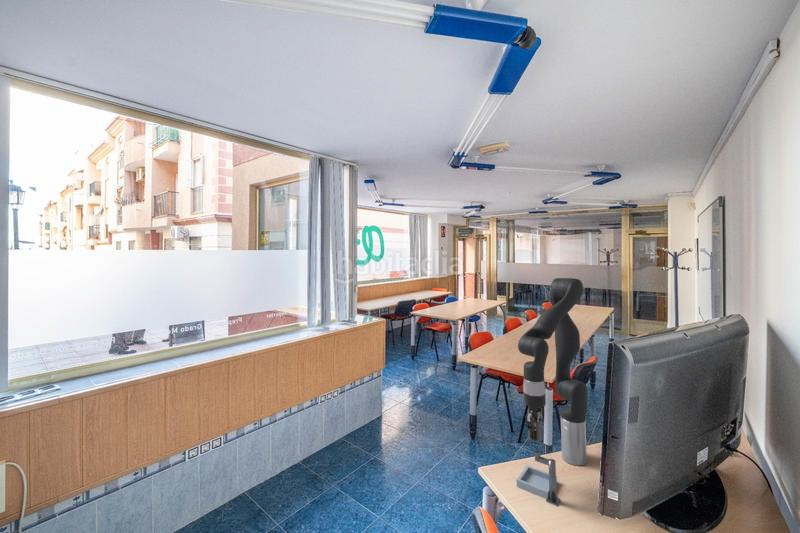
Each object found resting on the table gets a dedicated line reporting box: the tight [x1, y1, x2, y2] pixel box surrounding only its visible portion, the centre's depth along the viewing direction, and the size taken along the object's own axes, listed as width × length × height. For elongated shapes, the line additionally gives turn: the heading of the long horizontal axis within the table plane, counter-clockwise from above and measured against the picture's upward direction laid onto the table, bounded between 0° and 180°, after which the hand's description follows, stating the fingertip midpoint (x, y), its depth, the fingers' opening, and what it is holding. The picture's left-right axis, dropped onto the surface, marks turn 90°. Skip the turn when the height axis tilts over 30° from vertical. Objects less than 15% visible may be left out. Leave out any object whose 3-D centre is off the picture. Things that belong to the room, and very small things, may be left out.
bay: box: [516, 464, 558, 500], centre depth 123 cm, size 11×11×2 cm
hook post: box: [534, 450, 561, 507], centre depth 115 cm, size 4×7×15 cm, turn 50°
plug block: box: [527, 419, 544, 444], centre depth 122 cm, size 4×4×9 cm
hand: (535, 436), depth 122 cm, fingers closed on plug block, 4 cm apart
